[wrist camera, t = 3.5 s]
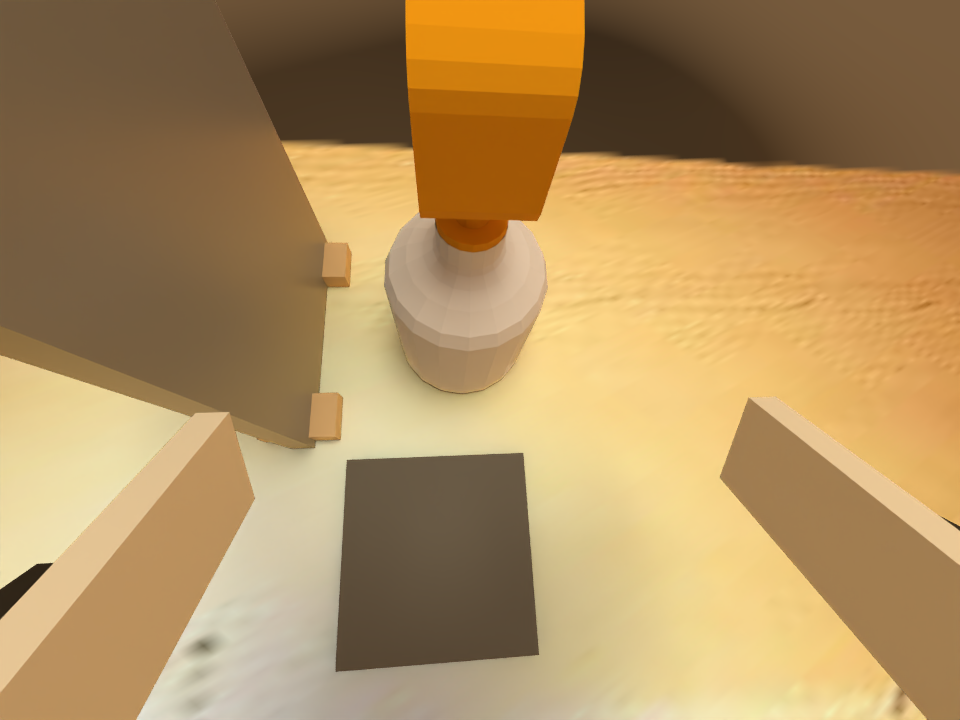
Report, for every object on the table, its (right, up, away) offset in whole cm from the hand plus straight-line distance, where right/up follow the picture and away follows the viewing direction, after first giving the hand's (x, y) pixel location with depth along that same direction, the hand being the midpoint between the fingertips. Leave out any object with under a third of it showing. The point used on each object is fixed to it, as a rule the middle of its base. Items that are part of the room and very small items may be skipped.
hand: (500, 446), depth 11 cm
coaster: (-3, -10, +16) cm, 20 cm away
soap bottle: (-2, +4, +21) cm, 22 cm away
